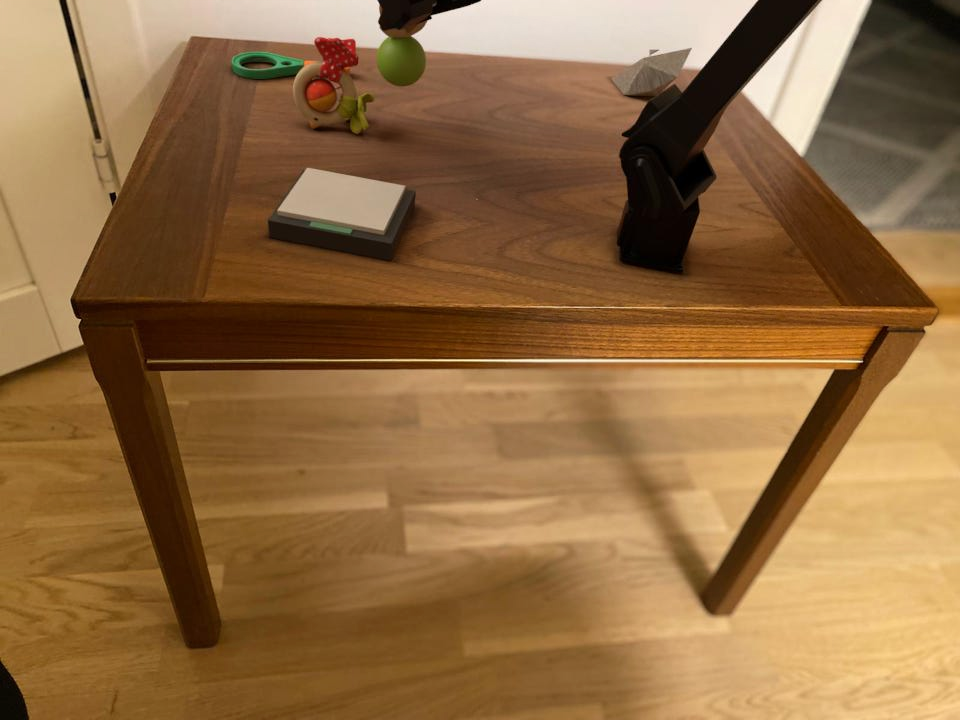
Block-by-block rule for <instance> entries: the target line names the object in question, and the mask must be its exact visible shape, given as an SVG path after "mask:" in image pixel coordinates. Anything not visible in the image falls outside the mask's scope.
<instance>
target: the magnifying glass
mask: <svg viewBox="0 0 960 720" xmlns="http://www.w3.org/2000/svg"><path fill="white" fill-rule="evenodd" d="M315 61H316V60H303V59H298V58H295V57H290V56H286V55H281V54H277V53H273V52H267V51H247V52H242V53H239V54H236V55H234V56H233V57H232V58H231V67H232V71H233V72H234V74H236V75H238V76H240V77H243V78H246V79H253V80H267V79H274V78H281V77H287V76H293V75H297V74H298V73H299V71H300V70H301V69H302V68H303V67H305V66H306V65H307V64H309V63H312V62H315ZM250 62H268V63H271V64H274V66H272V67H269V68H261V69H259V68H258V69H256V68H255V69H253V68H247V67H245V66H242V65H244V64H246V63H250ZM344 69H345V70H346V71H347V72H348V74H349V75H350V74H351V67H346V68H344ZM350 76H351V75H350Z"/></svg>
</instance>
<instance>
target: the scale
mask: <svg viewBox="0 0 960 720" xmlns="http://www.w3.org/2000/svg"><path fill="white" fill-rule="evenodd" d="M416 192H417V191H416V190H413V189H408V188H407V187H406V185H404V184H398V183H392V182H386V181H381V180H377V179H372V178H365V177H360V176H356V175H349V174H344V173H338V172H333V171H328V170H323V169H317V168H312V167H306V169H303V170H302V171H301V172H300V174H299V175H298V176H297V178H296V179H295V181H294V182H293V184H292V185H291V187H290V188H289V189H288V191H287V192H286V194H285V195H284V196H283V197H282V199H281V200H280V202H279V203H278V204H277V206H276V208H275V209H274V211H272V213H271V215H269V217H268V219H267V227H268V238H269V239H275V240H281V241H285V242H291V243H296V244H302V245H307V246H311V247H312V246H313V247H317V248H323V249H328V250H333V251H334V250H335V251H339V252H343V253H344V252H345V253H349V254H355V255H359V256H364V257H369V258H370V257H371V258H376V259H379V260H380V259H381V260H386V261H392V260H393V258H394V255H395V252H396V251H397V248H398V246H399V243H400V242H401V240H402V237H403V234H404V232H405V230H406V228H407V226H408V224H409V221H410V219H411V216H412V215H413V213H414V210H415V207H416V194H417V193H416Z"/></svg>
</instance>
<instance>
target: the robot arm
mask: <svg viewBox="0 0 960 720" xmlns="http://www.w3.org/2000/svg"><path fill="white" fill-rule="evenodd" d="M481 1H482V0H377V2H378V5H379V4H380V6H381V8H382V9H383V10H382V12H381V15H380V14H379V16H378V20H377V23H378V26H379V28H380V27H381V29H382V30H383V31H386V30H390V29H395V28H396V29H398V30H401V29H404V28H406V27H409V26H412V25H417V24H420V23H422V22H425V21H427V22H428V21H431V20H432V19H433V17H432V16H435V15H436V16H437V15H439V14H443V13H446V12H450V11H455V10H459V9H462V8H466V7H470V6H472V5H474V4H478V3H480V2H481ZM822 1H823V0H757V1H756V2H755V3H754V4H753V6H751V8H750V9H749V10H748V12H747V13H746V14H745V15H744V16H743V18H742V19H741V20H740V21H739V23H738V24H737V25H736V26H735V27H734V29H733V30H732V32H731V33H730V34H729V35H728V36H727V37H726V39H725V40H724V41H723V42H722V43H721V44H720V46H719V47H718V48H717V50H716V51H714V53H713V54H712V56H710V58H709V59H708V61H707V62H706V63H705V64H704V66H702V68H701V69H700V70H699V72H698V73H697V74H696V75H695V77H694V78H693V79H692V80H691V82H689V84H688V85H687V86H686V87H685V89H684V90H683V91H681V90H680V88H679V87H678V86H677V84H676V83H672V84H670V85H669V86H667V87H666V88H665V89H664V90H663V91H662V92H661V93H660V94H658V95H657V96H653V98H651V99H650V100H648V101H647V102H646V104H645V105H644V107H643V109H642V110H641V112H640V114H639V116H638V118H637V119H636V121H635V122H634V124H633V125H631V126H629V127H628V128H627V129H626V130H624V131H623V132H622V133H621V136H622V137H623V138H627V139H626V140H625V141H624V142H623V144H622V146H621V147H620V149H619V154H618V158H619V159H620V166H621V169H622V172H623V175H624V176H625V178H626V180H625V181H626V192H627V199H626V200H625V202H624V206H623V210H622V214H621V217H620V221H619V224H618V226H617V227H618V228H617V231H616V246H617V247H618V248H619V261H620V262H621V263H624V264H630V265H635V266H639V267H646V268H651V269H656V270H660V271H661V270H662V271H666V272H672V273H677V274H682V273H683V272H684V270H685V254H686V251H687V249H688V247H689V244H690V241H691V238H692V236H693V233H694V231H695V226H696V225H697V223H698V219H699V216H700V213H701V209H700V199H699V197H700V196H701V195H702V194H704V193H705V192H706V191H707V190H708V189H709V188H710V186H711V185H713V184H714V182H715V181H716V180H717V173H716V172H715V170H714V168H713V166H712V164H711V162H710V160H709V157H708V155H707V154H706V152H705V147H706V146H707V144H708V143H709V141H710V139H711V138H712V136H713V135H714V133H715V131H716V129H717V128H718V125H719V123H720V121H721V119H722V117H723V115H724V113H725V111H726V110H727V108H728V107H729V105H730V104H732V102H733V101H734V100H735V99H736V98H737V97H738V96H739V94H741V92H742V91H743V90H744V88H746V86H747V85H748V84H749V83H750V82H751V81H752V79H754V77H755V76H756V75H757V74H758V73H759V72H760V71H761V69H763V68H764V66H765V65H766V64H767V63H768V62H769V61H770V59H771V58H772V57H773V56H774V55H775V54H777V52H778V51H779V49H780V48H781V47H782V46H783V45H784V44H785V42H786V41H787V40H789V38H790V37H791V36H792V35H793V34H794V33H795V31H796V30H797V29H798V28H799V27H800V26H801V25H802V23H804V22H805V20H806V19H807V18H808V17H809V16H810V14H811V13H812V12H813V11H814V10H815V9H816V8H817V7H818V6H819V4H820V3H821V2H822ZM381 29H380V30H381ZM382 30H381V31H382Z"/></svg>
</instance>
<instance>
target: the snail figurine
mask: <svg viewBox="0 0 960 720" xmlns="http://www.w3.org/2000/svg"><path fill="white" fill-rule="evenodd" d="M378 5H379V6H378V10H379V16H380V15H381V12H382V10H383V9H382V8H381V6H380V4H379V3H378ZM427 23H428V21H425V22H422V23H420V24H417V25H412V26H409V27H406V28H404V29H401V30H398V29H396V28H395V29H390V30H386V31H383V30H382V29H381V27H380V26H379V29H380V31H382V33H383V34H384V35H386V36H387V37H386V38H385V39H384V40H383V41H382V42H381V43H380V45H379V47H378V49H377V53H376V65H377V69H378V71H379V73H380V75H381V77H382V78H383V79H384V80H385V81H387V83H389V84H391V85H393V86H396V87H400V88H401V87H409V86H412V85H414V84H415V83H417V82H418V81H419V80H420V79H421V78H422V77H423V75H424V73H425V70H426V66H427V56H426V53H425V49H424V47H423V46H422V44H421V43H420V41H418V40H417V38H415V37H414V35H416V34H417V33H419V32H421V31H422V30H423V29H424V28H425V26H426V25H427Z"/></svg>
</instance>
